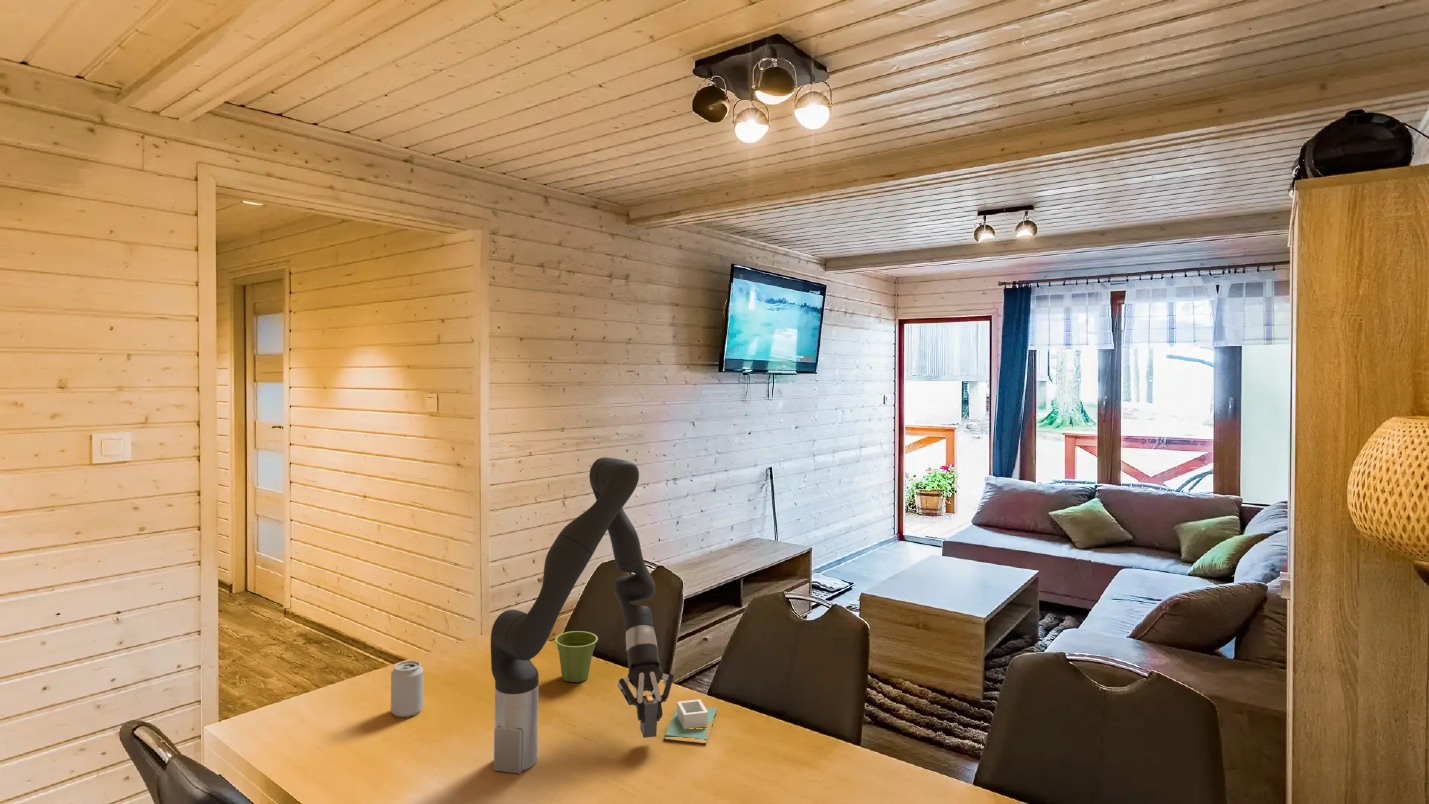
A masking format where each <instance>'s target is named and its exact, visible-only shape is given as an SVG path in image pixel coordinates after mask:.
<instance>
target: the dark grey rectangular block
mask: <svg viewBox="0 0 1429 804" xmlns="http://www.w3.org/2000/svg"><path fill="white" fill-rule="evenodd" d="M642 704H643V706H644V714H645V722H644V723H641V721H640V724H639V725H640V726H639V730H640V732H641V735H642V738H643V739H644V738H653V737H657V731H658V729H657V728H658V721H657V711H658V702H657V700H656V698H655V696H654V695H651V694H646V695H643V701H642Z"/></svg>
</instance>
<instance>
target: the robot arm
mask: <svg viewBox="0 0 1429 804" xmlns="http://www.w3.org/2000/svg"><path fill="white" fill-rule="evenodd" d="M588 478H589V483H590V487H591V489H592V492H593V495H594V498H595V502H594V503H593V504H592V505H591V506H590V507H589V508H588V509H587V510H585V511H584V512H583V513H581V514H580V515H578V516H577V517H576V518H574V519H573V520H571V521H570V522H569V523H568V524H567V525H565V527H563V528H562V530H561V531H560V532H559V534H558V535H557V536H556V538H555V540H554V541H553V543H552V545H551V547H550V548H549V549H548V552H547V554H546V556H545V561H544V565H543V566H544V567H543V574H542V575H543V576H542V584H541V588H540V591H539V593H538V596H537V598H536V600H535V601H534V603H533V605H532V607H531V608H530V609H529V611H528V613H527V612H524V611H521V610H518V609H508V610H505V611H503V612H501V613H500V614H499V615H498V616H497V617H496V619H495V621H494V623H493V624H492V628H491V632H490V663H491V664H490V665H491V667H490V668H491V674H492V677H493V680H494V730H493V732H494V733H493V771H496V772H503V773H512V774H522V773H523V771H526V770H529V769H530V768H532V767H533V766H535V764H536V763H537V761H538V743H539V742H538V733H539V731H538V730H539V729H538V728H539V677H540V676H539V675H540V674H539V671H538V669H537V667H536V666H535V665H534V664H533V661H531V659H533V658H535V657H537V655H538V654H539V653H540V652H541V651H542V650H543V648H544V646H545V644H546V642H547V641H548V639H549V636H550V635H551V633H552V630H553V629H554V626H555V624H556V623H557V620H558V618H559V615H560V614H561V612H562V609H563V607H564V605H565V603H566V602H567V600H568V597H569V596H570V594H571V592H572V590H573V588H574V587H575V585H576V583H577V582H578V580H579V578H580V576H581V575H582V573H583V572H584V570H585V568H586V567H587V566H588V563H589V562H590V560H591V559H592V556H593V555H594V553H595V551H596V549H597V548H598V546H599V544H600V542H601V540H602V539H603V537H605V534H606V532H607V533H608V535H609V539H610V542H611V547H612V552H613V553H612V554H613V558H614V562H615V567H616V569H617V570H618V571H620V572H622V573H632V574H628V575H621V576H618V577H617V578H616V579H615V581H614V585H613V591H614V595H615V598H616V601H617V602H618V604H619V606H620V610H621V612H622V616H623V619H624V620H623V621H624V627H625V628H624V630H625V651H626V656H627V657H626V658H627V666H628V667H627V668H628V674H627V676H626V677H624V678H622V677H621V678H620V679H619V680H618V683H617V687H618V688H619V690H620V692H621V694H622V695H623V697H624V699H625V700H626V702H627V704H628V705H629V706H634V707H636V716H637V720H638V721H641V723H644V722H645V714H644V706H643V704H642V701H643V696H644V692H650V695H654V696H655V698H656V700H657V702H658V711H657V722H660V721H661V718H662V717H663V707H662V703H665V702H666V701H667V700H668V698H669V696H670V695H669V694H670V691H671V689H672V684H673V680H674V678H675V676H674V675H673V673H669V674H668V673H667V674H666V673H664V671H663V670H662V668H661V665H660V664H661V663H660V658H659V650H658V649H659V648H658V643H657V636H656V631H655V628H654V621H653V612H652V610H651V608H650V607H649V606H645V605H642V604H641V605H639V604H633V603H637V602H642V601H647V600H650V599H652V598H653V597H654V595H655V593H656V583H655V581H654V578H653V577H652V574H651V573H650V570H649V569H648V568H647V567H648V566H647V565H646V563H645V561H644V557H643V553H642V552H643V551H642V549H641V542H640V538H639V535H638V532H637V531H636V529H635V526H634V525H633V523H632V522H631V520H630V519H629V517H628V515H627V514H626V511H625V510H624V508H623V507H625V505H626V503H628V500H629V499H630V498H631V496H632V495H633V494H634V492H635V490H636V488H637V485H638V484H639V483H638V482H639V480H640V472H639V468H638V466H637V464H636V463H634V462H632V461H631V460H630V461H629V460H627V459H619V458H613V457H608V456H607V457H606V456H604V457H599V458H597V459H595V461H594V462H593V463H592V465H591V466H590V469H589V477H588ZM661 680H662V682H663V684H664V689H663V693H662V694H660V687H659V683H660V682H661ZM630 684H631V686H632V687H633V688H634V689H635V696H634V694H633V692H632V691H631V689H630V687H629V686H630Z"/></svg>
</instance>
